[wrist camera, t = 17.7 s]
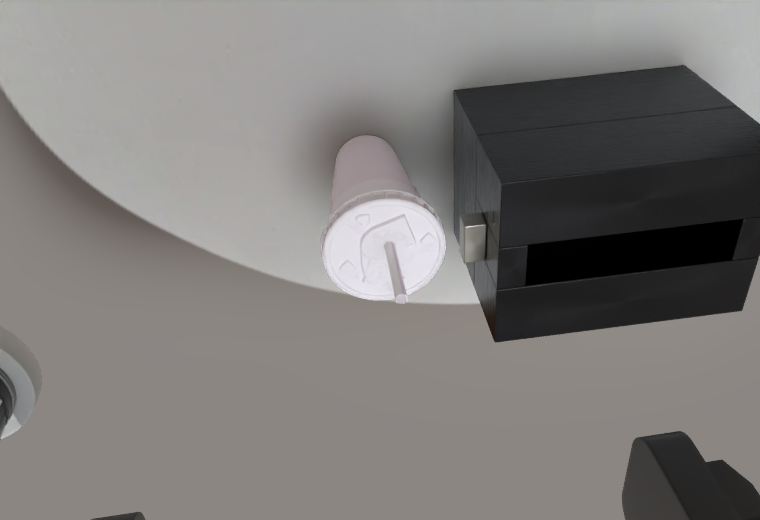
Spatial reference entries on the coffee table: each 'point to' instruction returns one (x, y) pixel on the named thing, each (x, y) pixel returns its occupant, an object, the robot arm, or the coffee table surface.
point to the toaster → (605, 201)
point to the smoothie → (379, 226)
